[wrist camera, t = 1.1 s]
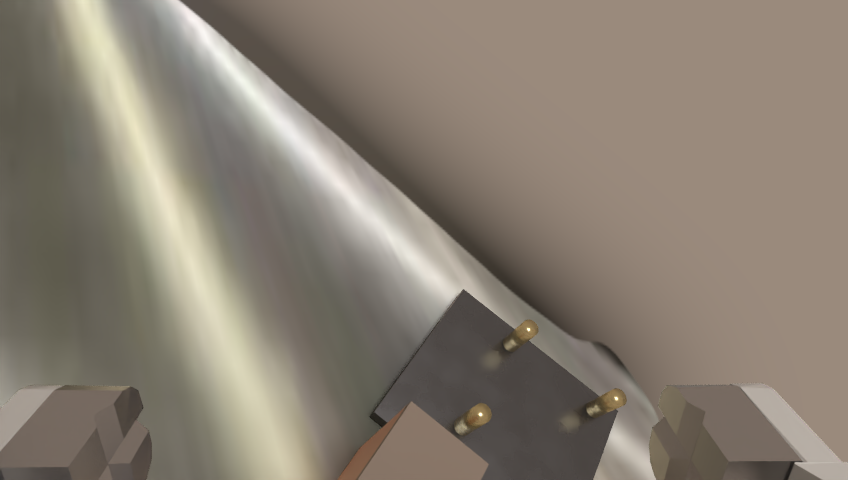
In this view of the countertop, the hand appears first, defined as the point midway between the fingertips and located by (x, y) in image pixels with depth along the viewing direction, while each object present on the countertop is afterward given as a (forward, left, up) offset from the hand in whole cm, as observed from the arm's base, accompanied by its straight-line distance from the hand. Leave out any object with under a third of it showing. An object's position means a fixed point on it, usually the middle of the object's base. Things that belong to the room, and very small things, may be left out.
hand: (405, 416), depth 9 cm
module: (+5, +7, -31) cm, 33 cm away
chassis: (+10, +19, -31) cm, 38 cm away
